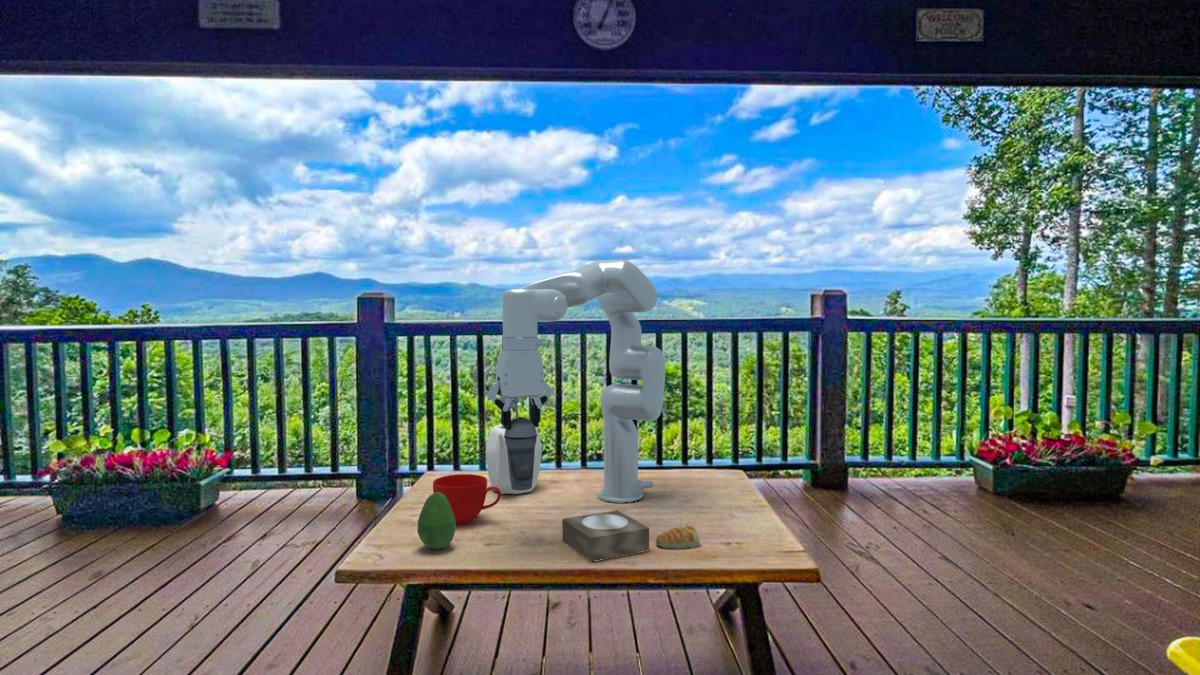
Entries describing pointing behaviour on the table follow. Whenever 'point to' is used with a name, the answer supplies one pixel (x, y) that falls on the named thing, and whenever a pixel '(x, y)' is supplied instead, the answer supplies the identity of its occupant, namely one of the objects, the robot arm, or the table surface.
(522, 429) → the beverage cup
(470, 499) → the ceramic cup
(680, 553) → the table surface
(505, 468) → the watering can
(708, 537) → the table surface
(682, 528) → the pastry
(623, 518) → the walnut stand
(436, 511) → the fruit
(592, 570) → the table surface
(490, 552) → the table surface
